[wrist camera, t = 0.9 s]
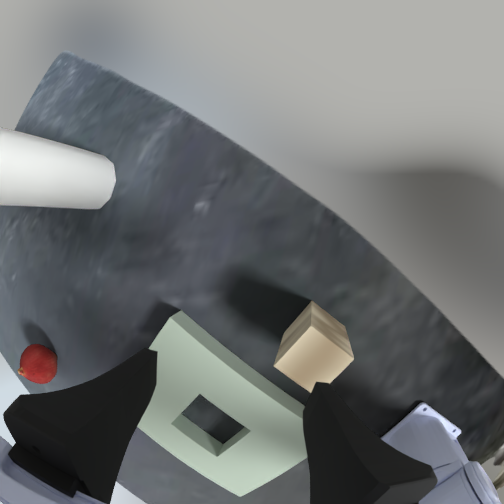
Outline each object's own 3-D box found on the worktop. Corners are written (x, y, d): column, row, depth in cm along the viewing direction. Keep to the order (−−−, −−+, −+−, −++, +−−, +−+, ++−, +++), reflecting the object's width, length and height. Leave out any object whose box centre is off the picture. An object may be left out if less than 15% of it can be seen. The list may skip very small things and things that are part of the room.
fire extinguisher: (80, 131, 29) (-90, 93, 5) (137, 176, 28) (-99, 147, 4) (58, 177, 31) (-108, 169, 6) (109, 228, 30) (-107, 257, 5)
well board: (332, 424, 26) (333, 438, 23) (244, 484, 29) (240, 496, 26) (181, 310, 28) (170, 317, 25) (123, 394, 31) (112, 403, 28)
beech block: (344, 326, 25) (354, 358, 18) (316, 357, 26) (315, 396, 19) (311, 300, 25) (311, 325, 18) (283, 332, 26) (273, 365, 19)
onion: (65, 380, 34) (30, 400, 26) (43, 356, 34) (7, 372, 27) (70, 355, 33) (31, 375, 25) (46, 330, 33) (7, 345, 26)
